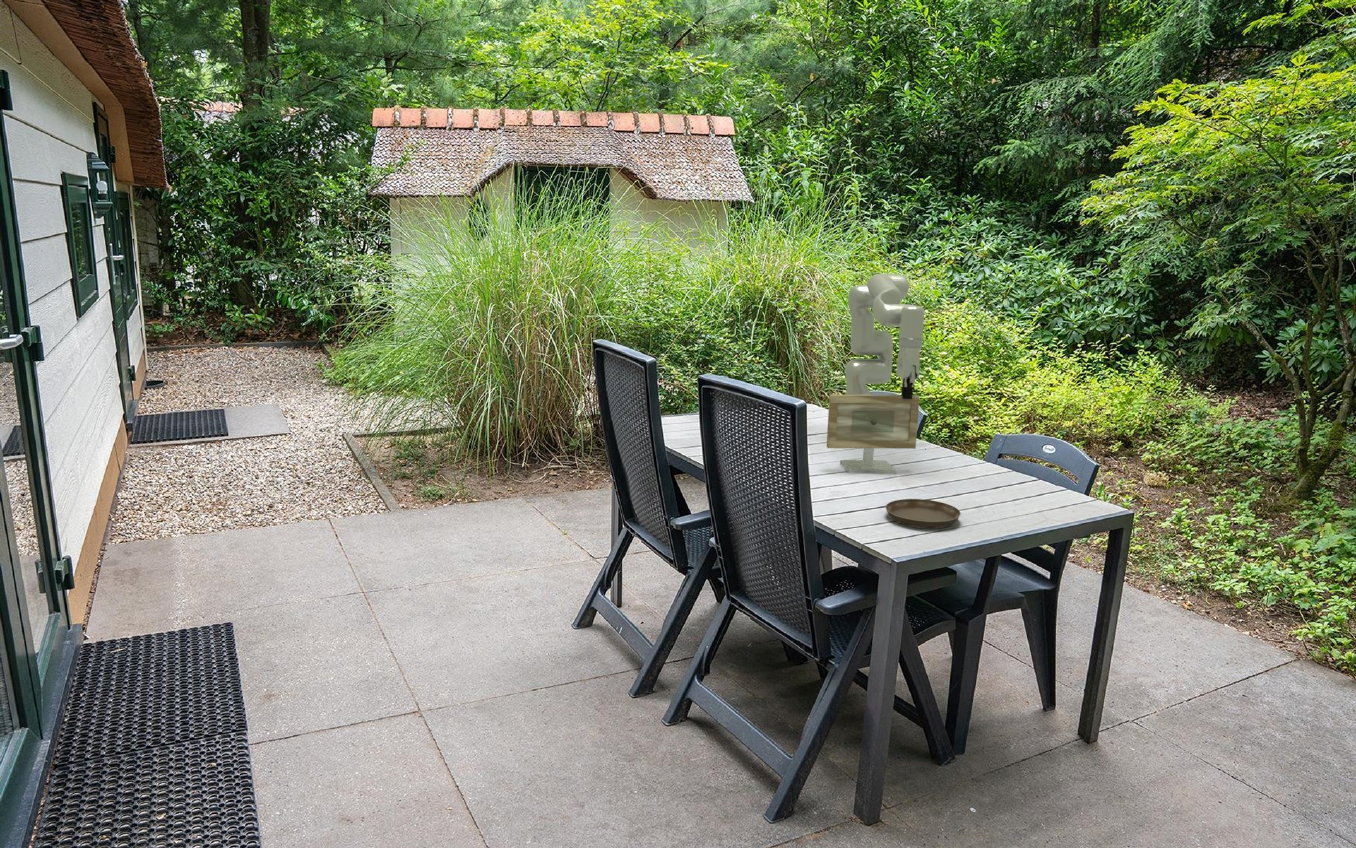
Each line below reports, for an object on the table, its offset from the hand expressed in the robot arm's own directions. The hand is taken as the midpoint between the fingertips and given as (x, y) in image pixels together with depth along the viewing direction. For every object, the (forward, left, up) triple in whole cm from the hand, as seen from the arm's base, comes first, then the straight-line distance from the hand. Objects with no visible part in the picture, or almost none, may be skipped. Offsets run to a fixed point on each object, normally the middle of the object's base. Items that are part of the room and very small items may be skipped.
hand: (906, 398), depth 312 cm
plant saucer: (+52, -10, -26) cm, 59 cm away
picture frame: (-1, -11, -17) cm, 20 cm away
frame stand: (-3, -11, -25) cm, 28 cm away
